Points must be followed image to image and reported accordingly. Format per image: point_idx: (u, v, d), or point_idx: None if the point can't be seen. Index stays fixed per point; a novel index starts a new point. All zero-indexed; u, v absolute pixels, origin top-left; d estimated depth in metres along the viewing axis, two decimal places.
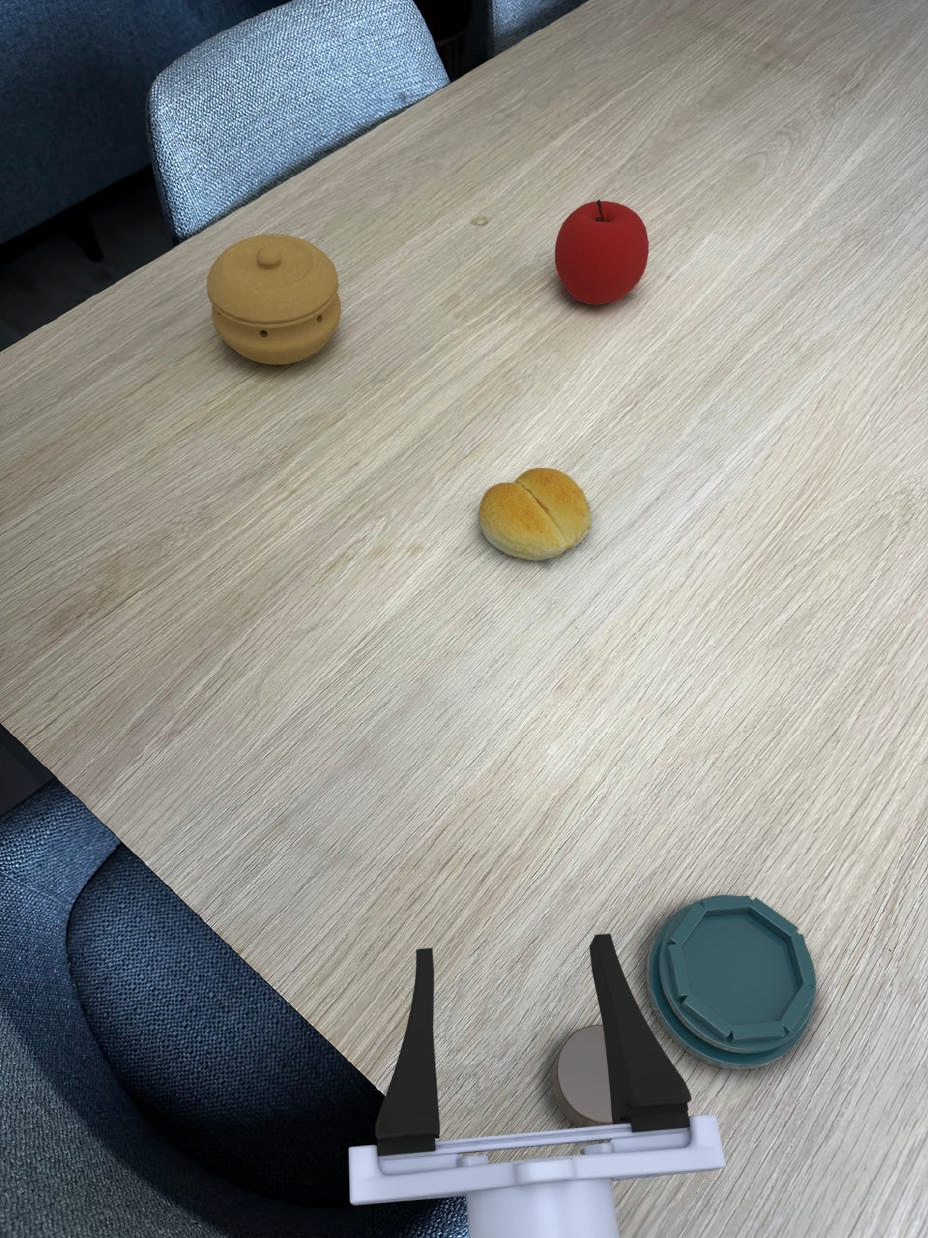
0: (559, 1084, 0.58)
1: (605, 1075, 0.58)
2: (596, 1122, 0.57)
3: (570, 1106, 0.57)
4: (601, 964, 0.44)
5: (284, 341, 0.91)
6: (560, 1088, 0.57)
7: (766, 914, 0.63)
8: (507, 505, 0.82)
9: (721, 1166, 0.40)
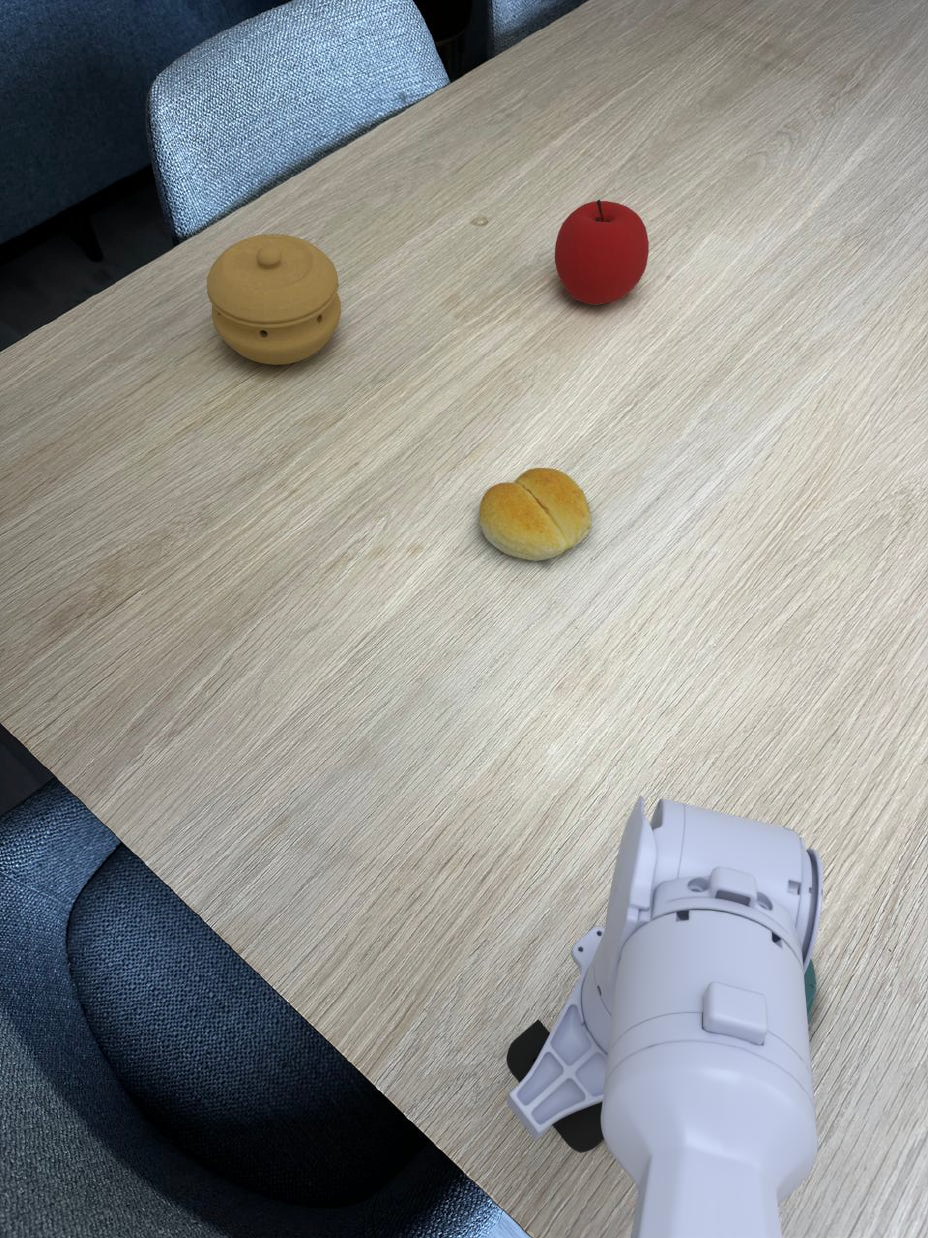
0: None
1: None
2: None
3: None
4: None
5: (284, 341, 0.91)
6: None
7: None
8: (507, 505, 0.82)
9: None
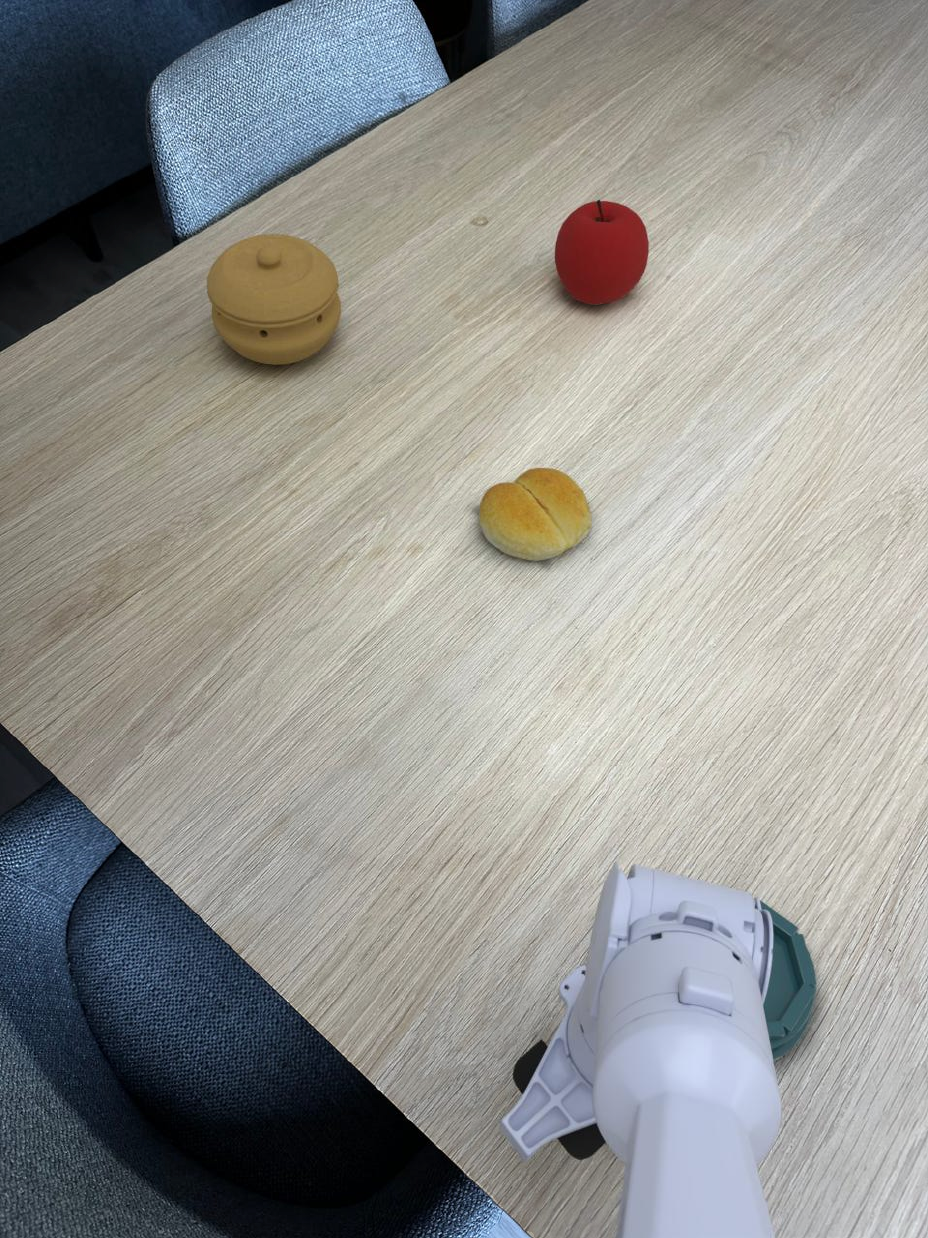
0: None
1: None
2: None
3: None
4: None
5: (284, 341, 0.91)
6: None
7: None
8: (507, 505, 0.82)
9: None
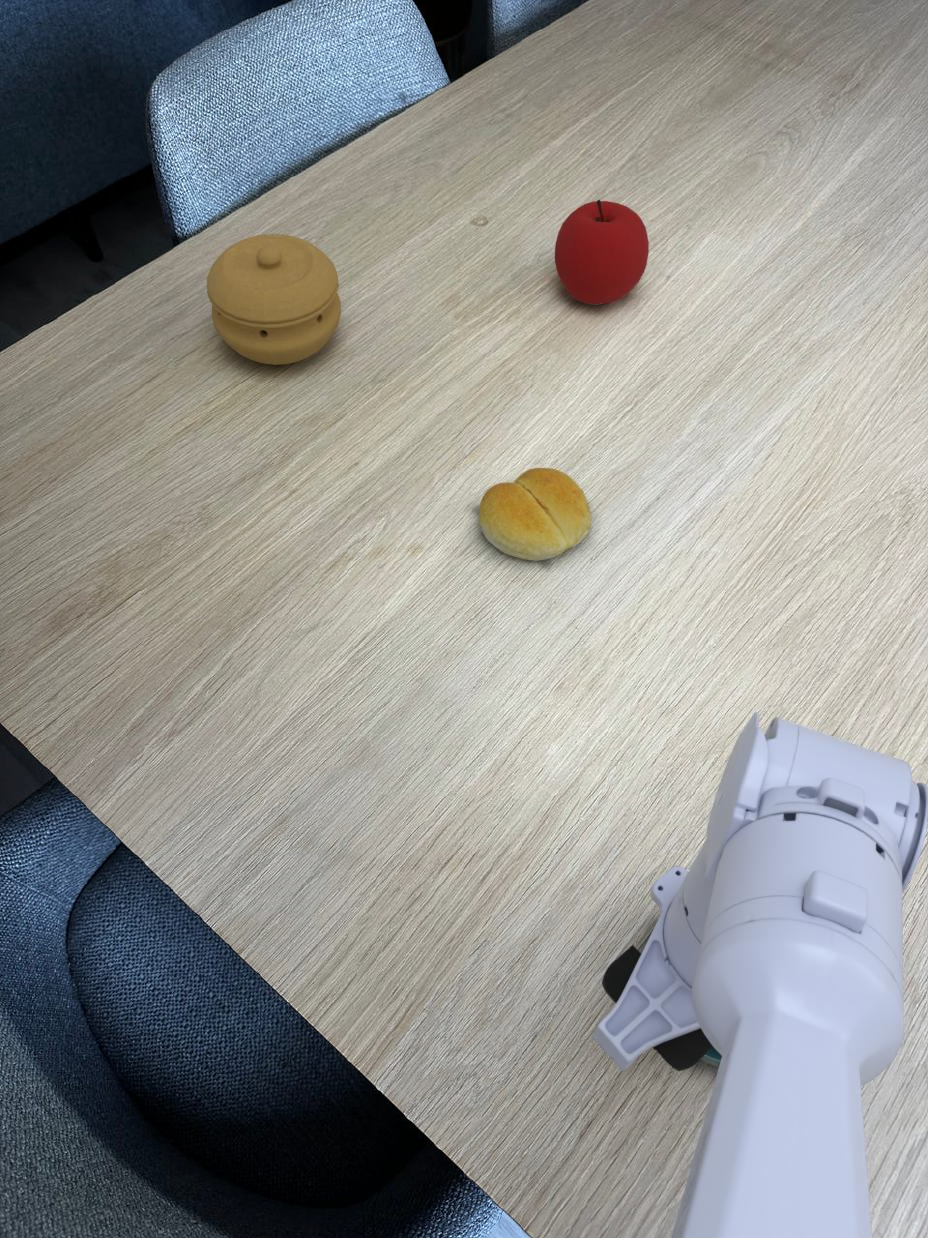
0: None
1: None
2: None
3: None
4: None
5: (284, 341, 0.91)
6: None
7: None
8: (507, 505, 0.82)
9: None
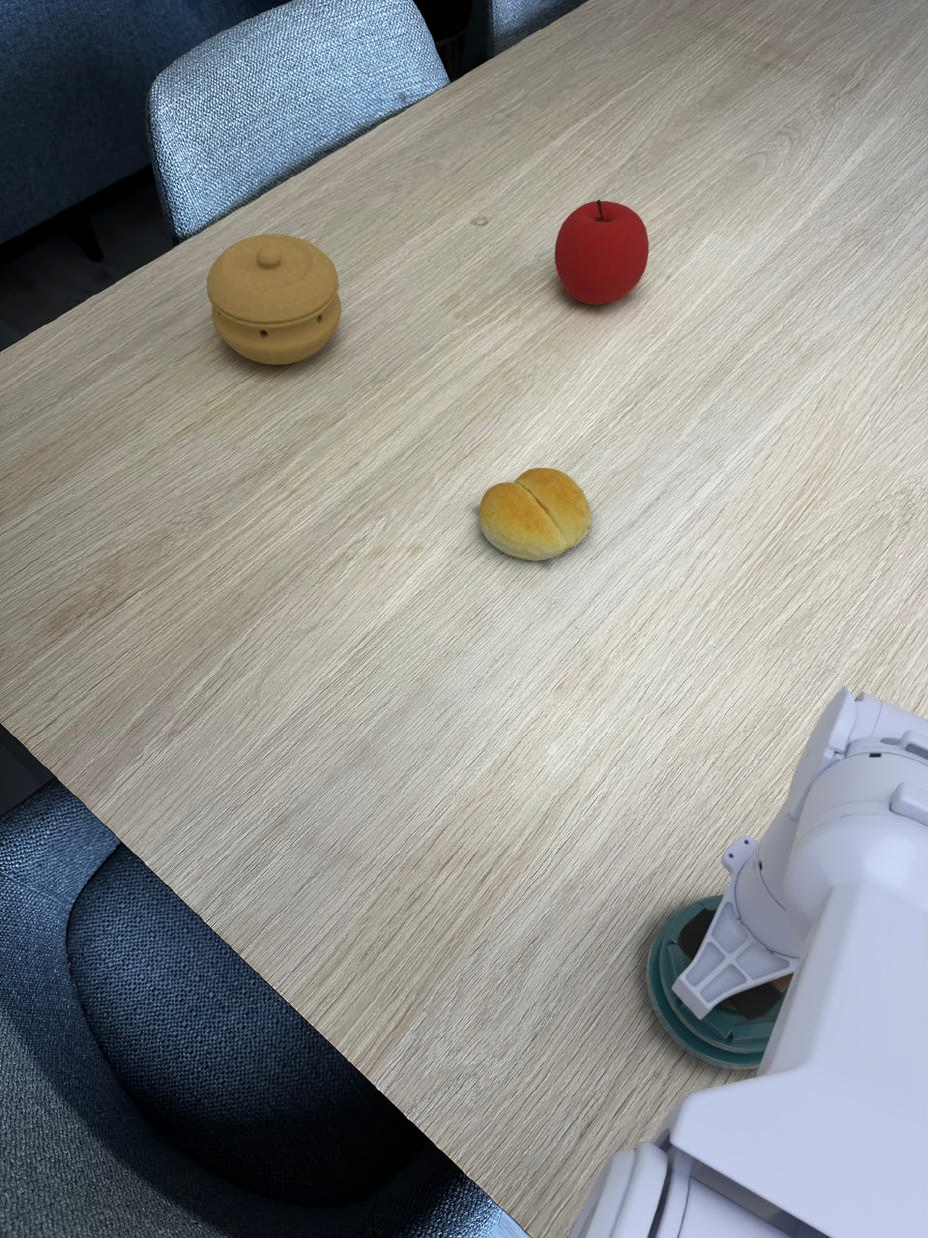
0: None
1: None
2: None
3: None
4: None
5: (284, 341, 0.91)
6: None
7: None
8: (507, 505, 0.82)
9: None
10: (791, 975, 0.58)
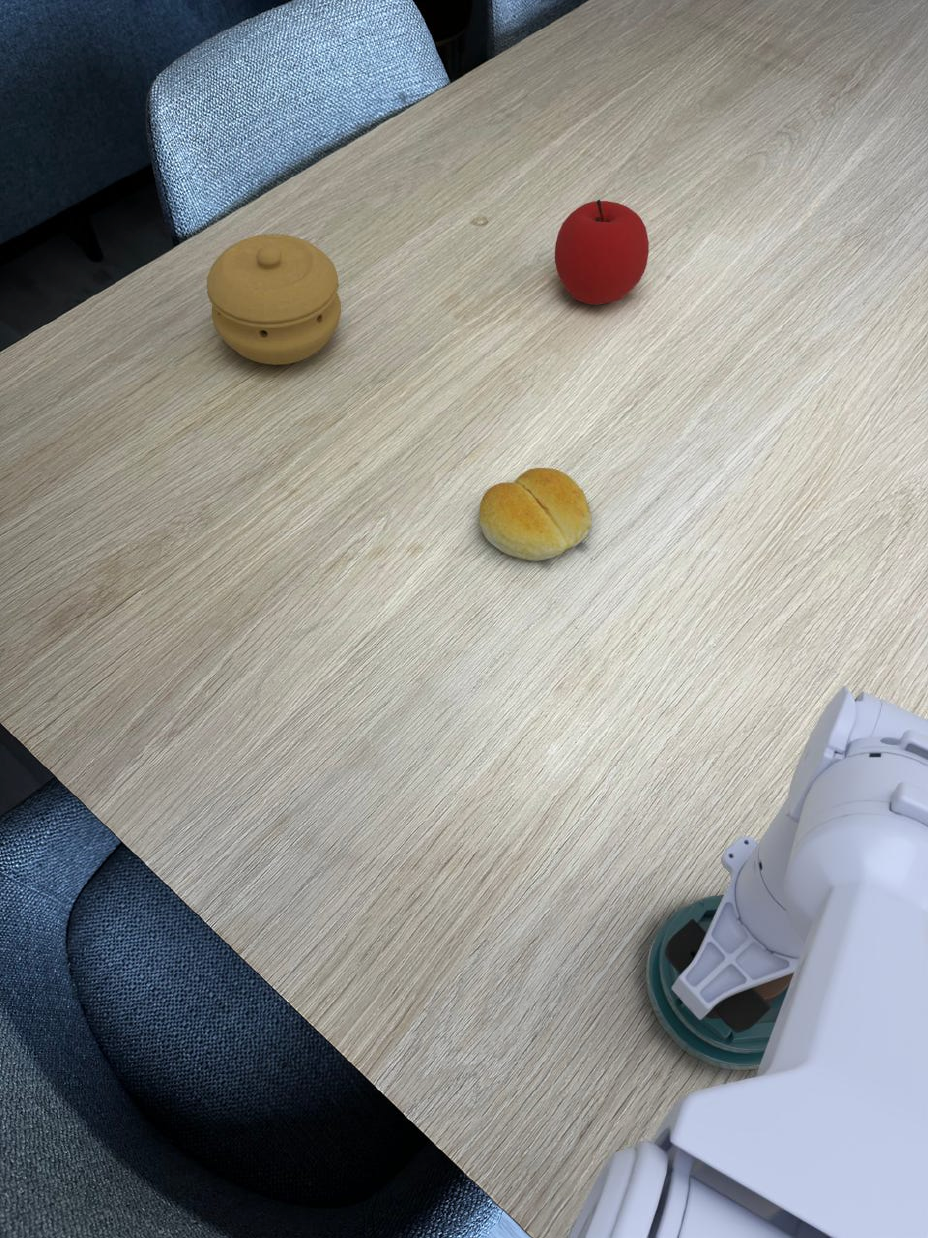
0: None
1: None
2: None
3: None
4: None
5: (284, 341, 0.91)
6: None
7: None
8: (507, 505, 0.82)
9: None
10: (789, 977, 0.58)
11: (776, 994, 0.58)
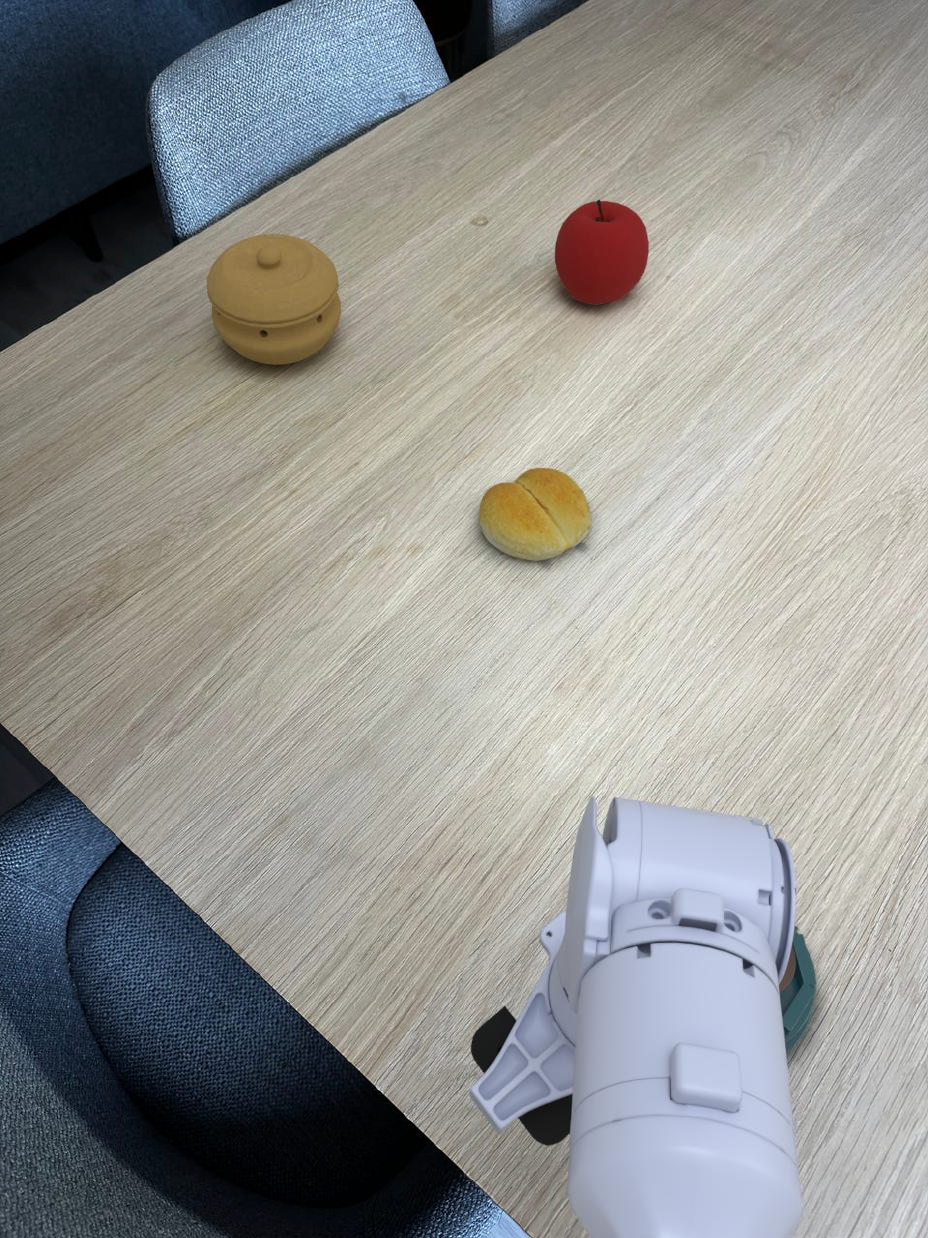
0: None
1: None
2: None
3: None
4: None
5: (284, 341, 0.91)
6: None
7: None
8: (507, 505, 0.82)
9: None
10: (789, 977, 0.58)
11: None
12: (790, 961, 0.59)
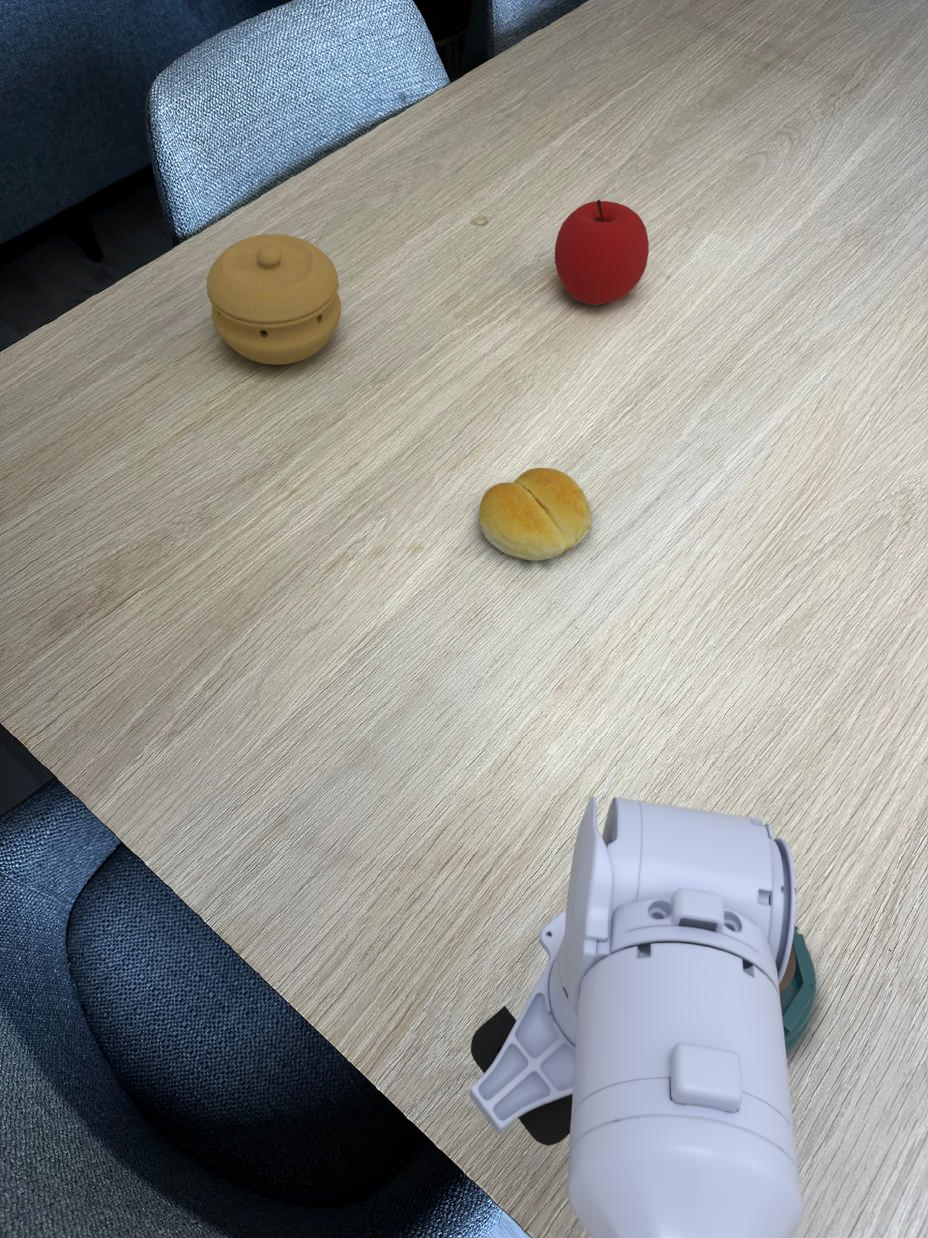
0: None
1: None
2: None
3: None
4: None
5: (284, 341, 0.91)
6: None
7: None
8: (507, 505, 0.82)
9: None
10: (789, 977, 0.58)
11: None
12: (790, 961, 0.59)
